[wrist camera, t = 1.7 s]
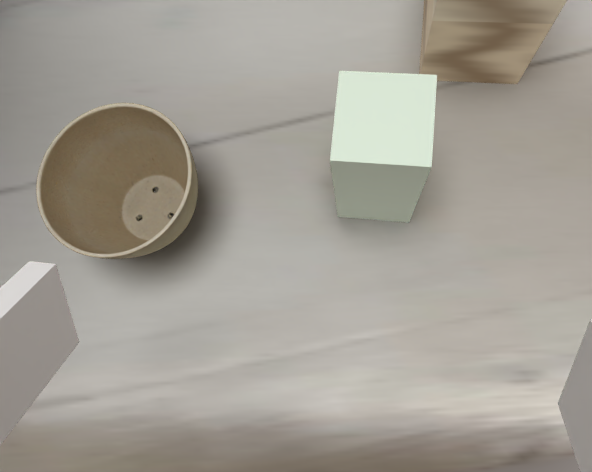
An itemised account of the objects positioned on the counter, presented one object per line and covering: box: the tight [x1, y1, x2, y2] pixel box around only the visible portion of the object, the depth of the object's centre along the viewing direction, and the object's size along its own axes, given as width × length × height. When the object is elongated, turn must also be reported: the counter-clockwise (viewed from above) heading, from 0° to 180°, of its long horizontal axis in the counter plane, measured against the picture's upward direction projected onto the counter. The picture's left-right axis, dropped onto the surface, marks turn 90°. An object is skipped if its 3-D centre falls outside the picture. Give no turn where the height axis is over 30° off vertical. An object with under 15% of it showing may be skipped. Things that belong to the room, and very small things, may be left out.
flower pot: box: [36, 103, 198, 259], centre depth 35 cm, size 10×10×7 cm
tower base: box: [419, 0, 553, 84], centre depth 35 cm, size 7×7×7 cm
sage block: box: [330, 71, 437, 223], centre depth 31 cm, size 5×5×11 cm
